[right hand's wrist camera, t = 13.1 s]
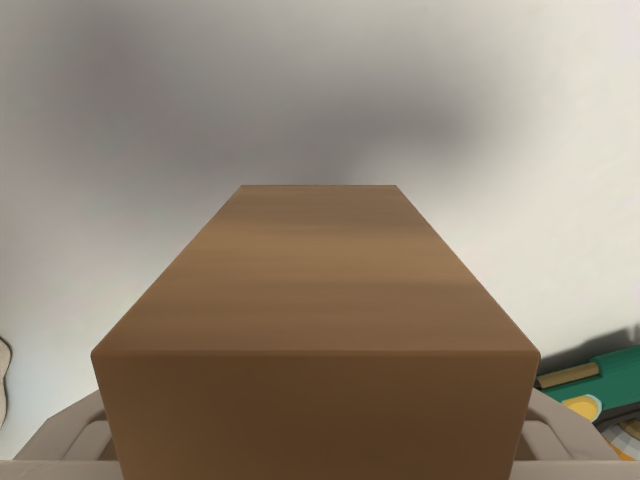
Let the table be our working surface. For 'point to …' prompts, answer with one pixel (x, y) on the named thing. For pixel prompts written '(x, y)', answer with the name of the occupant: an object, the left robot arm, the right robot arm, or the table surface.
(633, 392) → the spray gun
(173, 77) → the table surface
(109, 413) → the bar
